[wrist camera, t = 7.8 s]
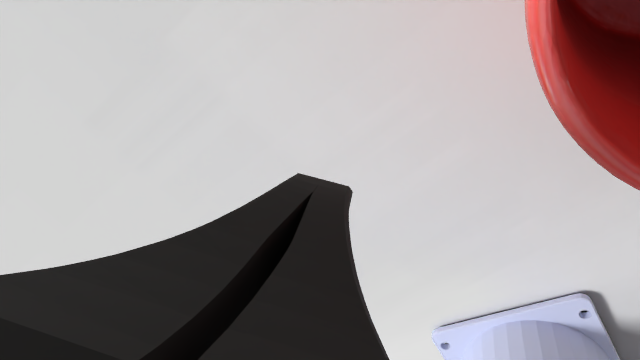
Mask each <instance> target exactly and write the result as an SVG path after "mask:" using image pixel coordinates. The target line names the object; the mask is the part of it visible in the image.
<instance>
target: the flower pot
mask: <svg viewBox="0 0 640 360" xmlns="http://www.w3.org/2000/svg"><path fill="white" fill-rule="evenodd" d="M525 17H526V27H527V34H528V41H529V46H530V50H531V54H532V58H533V62H534V66H535V69H536V73H537V76H538V79H539V81H540V84H541V86H542V89H543V91H544V94H545V96H546V98H547V100H548V102H549V104H550V106H551V108H552V109H553V111H554V113H555V114H556V116H557V118H558V119H559V121H560V122H561V124H562V125H563V127H564V128H565V129H566V130H567V132H568V133H569V134H570V135H571V136H572V138H573V139H574V140H575V141H576V142H577V144H578V145H579V146H580V147H581V148H582V149H583V150H584V151H585V152H586V153H587V154H588V155H589V156H590V157H592V158H593V159H594V160H595V161H596V162H597V163H598V164H599V165H601V166H602V167H603V168H605V169H606V170H607V171H608V172H610V173H611V174H612V175H614V176H615V177H617V178H618V179H620V180H622V181H624V182H625V183H627V184H629V185H630V186H632V187H634V188H636V189H638V190H640V0H525Z"/></svg>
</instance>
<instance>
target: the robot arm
mask: <svg viewBox="0 0 640 360" xmlns="http://www.w3.org/2000/svg"><path fill="white" fill-rule="evenodd" d="M352 193H353V192H352V190H351V189H350V187H349V186H345V185H341V184H338V183H334V182H330V181H326V180H322V179H318V178H315V177H311V176H307V175H303V174H299V173H298V174H296V175H295V176H293V177H291V178H289V179H288V180H286V181H284V182H283V183H281V184H279V185H278V186H276V187H274V188H273V189H271V190H270V191H268V192H266V193H265V194H263V195H261V196H259V197H258V198H256V199H254V200H252V201H251V202H249V203H247V204H245V205H244V206H242V207H240V208H238V209H236V210H234V211H232V212H230V213H228V214H226V215H224V216H222V217H220V218H218V219H216V220H214V221H212V222H210V223H207V224H205V225H203V226H200V227H198V228H196V229H193V230H191V231H188V232H185V233H183V234H180V235H177V236H175V237H172V238H169V239H166V240H163V241H160V242H157V243H154V244H150V245H147V246H143V247H140V248H137V249H133V250H130V251H126V252H123V253H120V254H116V255H112V256H107V257H103V258H99V259H94V260H90V261H85V262H80V263H75V264H70V265H65V266H59V267H54V268H48V269H41V270H34V271H27V272H20V273H13V274H6V275H0V360H389V358H388V356H387V354H386V351H385V349H384V347H383V345H382V342H381V340H380V338H379V336H378V333H377V331H376V329H375V327H374V324H373V322H372V320H371V317H370V314H369V311H368V309H367V306H366V303H365V300H364V297H363V294H362V291H361V287H360V284H359V280H358V277H357V272H356V268H355V263H354V259H353V254H352V247H351V240H350V231H349V207H350V202H351V197H352ZM583 310H587V311H588V312H586V313H581V311H583ZM432 340H433V342H434V344H435V345H436V347H437V348H438V350H439V352H440V353H441V355H442V356H443V358H444V359H445V360H620V358H619V356H618V354H617V352H616V349H615V347H614V345H613V343H612V341H611V339H610V337H609V335H608V333H607V331H606V329H605V327H604V325H603V323H602V321H601V319H600V317H599V315H598V313H597V311H596V309H595V306H594V304H593V302H592V300H591V299H590V297H589V296H587V295H585V294H581V293H580V294H573V295H569V296H565V297H561V298H557V299H553V300H549V301H545V302H541V303H537V304H533V305H529V306H524V307H520V308H516V309H512V310H508V311H504V312H500V313H496V314H492V315H488V316H484V317H480V318H476V319H472V320H468V321H464V322H460V323H455V324H451V325H447V326H443V327H439V328H436V329H434V330H433V331H432ZM445 342H446V343H449V344H444V343H445Z"/></svg>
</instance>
